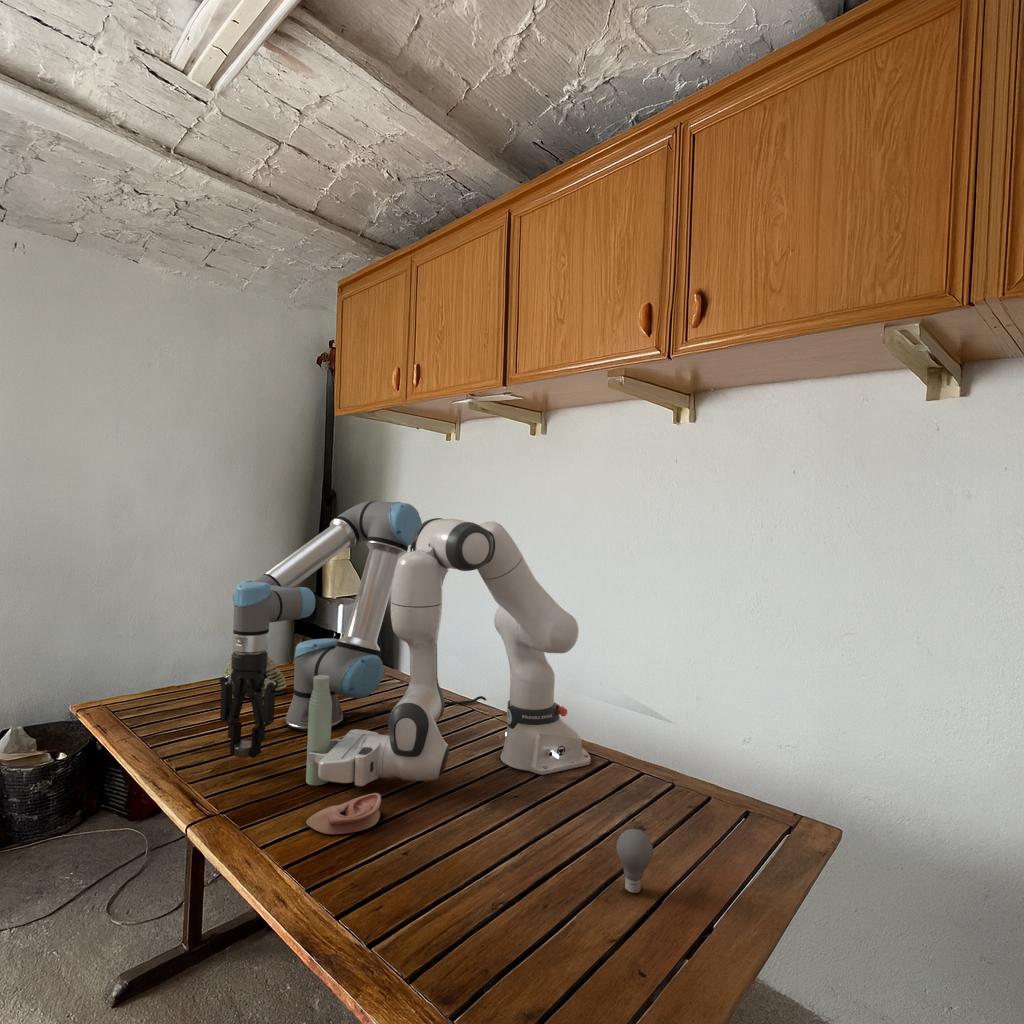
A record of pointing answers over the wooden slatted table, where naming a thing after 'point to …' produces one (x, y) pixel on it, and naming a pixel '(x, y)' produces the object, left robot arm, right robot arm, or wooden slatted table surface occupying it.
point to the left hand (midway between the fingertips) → (245, 753)
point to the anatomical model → (347, 816)
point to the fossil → (271, 673)
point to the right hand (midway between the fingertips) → (314, 750)
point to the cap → (242, 749)
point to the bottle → (319, 725)
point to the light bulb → (634, 857)
